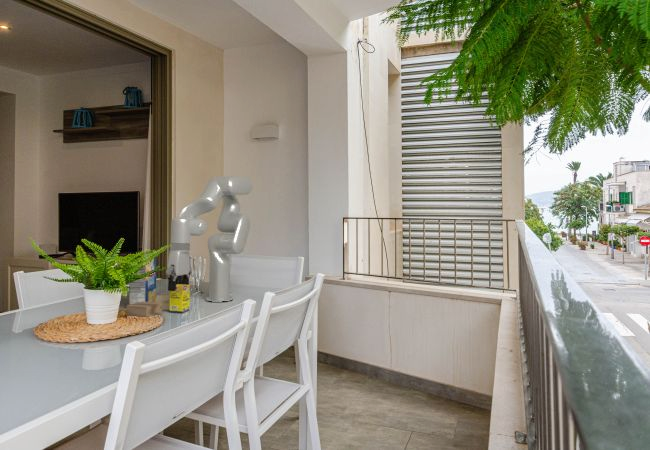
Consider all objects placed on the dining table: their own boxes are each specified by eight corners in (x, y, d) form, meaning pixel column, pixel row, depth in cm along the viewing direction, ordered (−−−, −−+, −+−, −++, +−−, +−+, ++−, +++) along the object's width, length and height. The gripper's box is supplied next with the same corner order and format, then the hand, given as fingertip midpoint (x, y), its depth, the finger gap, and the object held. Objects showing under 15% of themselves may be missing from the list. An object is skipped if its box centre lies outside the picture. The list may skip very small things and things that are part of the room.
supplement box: (182, 313, 178) (182, 286, 178) (169, 312, 179) (169, 285, 179) (189, 310, 183) (190, 284, 183) (176, 309, 185) (177, 283, 185)
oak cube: (160, 307, 190) (161, 293, 190) (174, 307, 190) (175, 293, 190) (156, 309, 184) (156, 295, 184) (170, 310, 184) (170, 295, 184)
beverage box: (129, 309, 184) (129, 256, 184) (140, 304, 195) (141, 254, 195) (145, 309, 184) (145, 257, 184) (155, 304, 195) (156, 255, 195)
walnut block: (142, 313, 177) (142, 301, 177) (161, 315, 174) (161, 303, 174) (126, 318, 168) (126, 305, 168) (146, 320, 166) (146, 307, 166)
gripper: (183, 246, 190) (181, 286, 190) (159, 247, 173) (158, 291, 173) (198, 247, 188) (197, 287, 188) (176, 248, 171) (175, 292, 171)
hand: (178, 289), depth 180 cm, fingers open, 9 cm apart
